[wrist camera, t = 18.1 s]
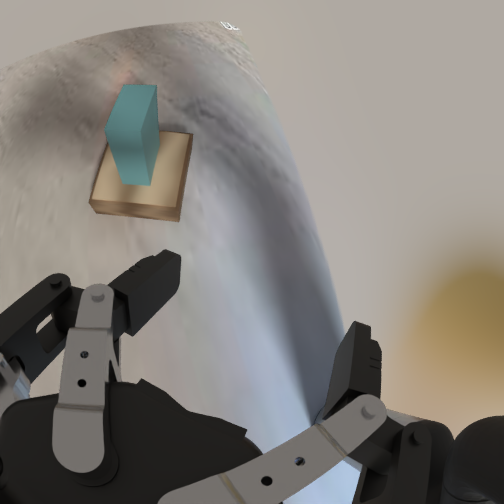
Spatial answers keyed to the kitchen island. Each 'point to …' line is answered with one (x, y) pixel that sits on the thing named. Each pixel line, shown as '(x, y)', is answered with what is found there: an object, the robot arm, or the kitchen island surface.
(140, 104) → the teal rectangular block
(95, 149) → the kitchen island surface
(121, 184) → the block
